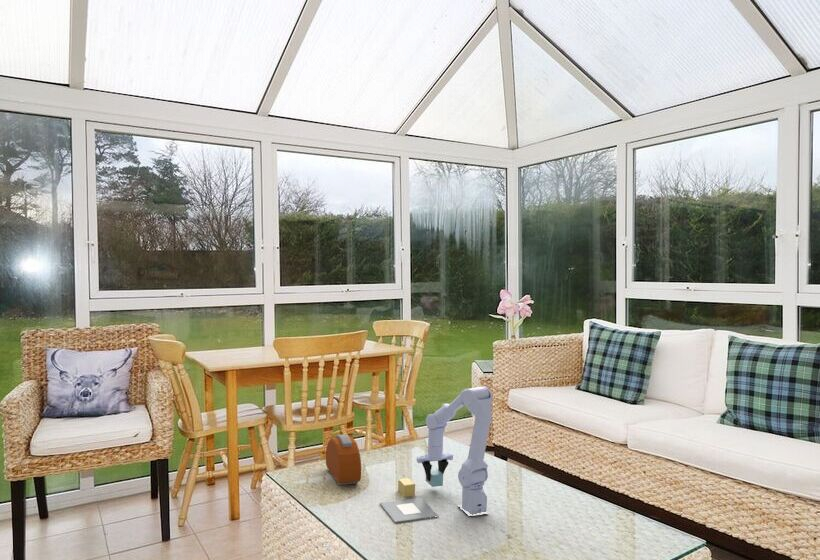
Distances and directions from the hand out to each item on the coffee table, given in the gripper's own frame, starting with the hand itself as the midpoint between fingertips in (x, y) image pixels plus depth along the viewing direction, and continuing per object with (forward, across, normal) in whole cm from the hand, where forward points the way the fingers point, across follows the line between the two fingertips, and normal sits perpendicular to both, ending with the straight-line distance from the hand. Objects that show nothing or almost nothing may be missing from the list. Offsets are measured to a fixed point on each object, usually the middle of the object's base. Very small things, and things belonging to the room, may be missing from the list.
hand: (434, 479), depth 220 cm
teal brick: (+2, 0, 0) cm, 2 cm away
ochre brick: (+4, +11, -1) cm, 12 cm away
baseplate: (+4, +16, +14) cm, 22 cm away
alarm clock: (+5, +30, -24) cm, 39 cm away
